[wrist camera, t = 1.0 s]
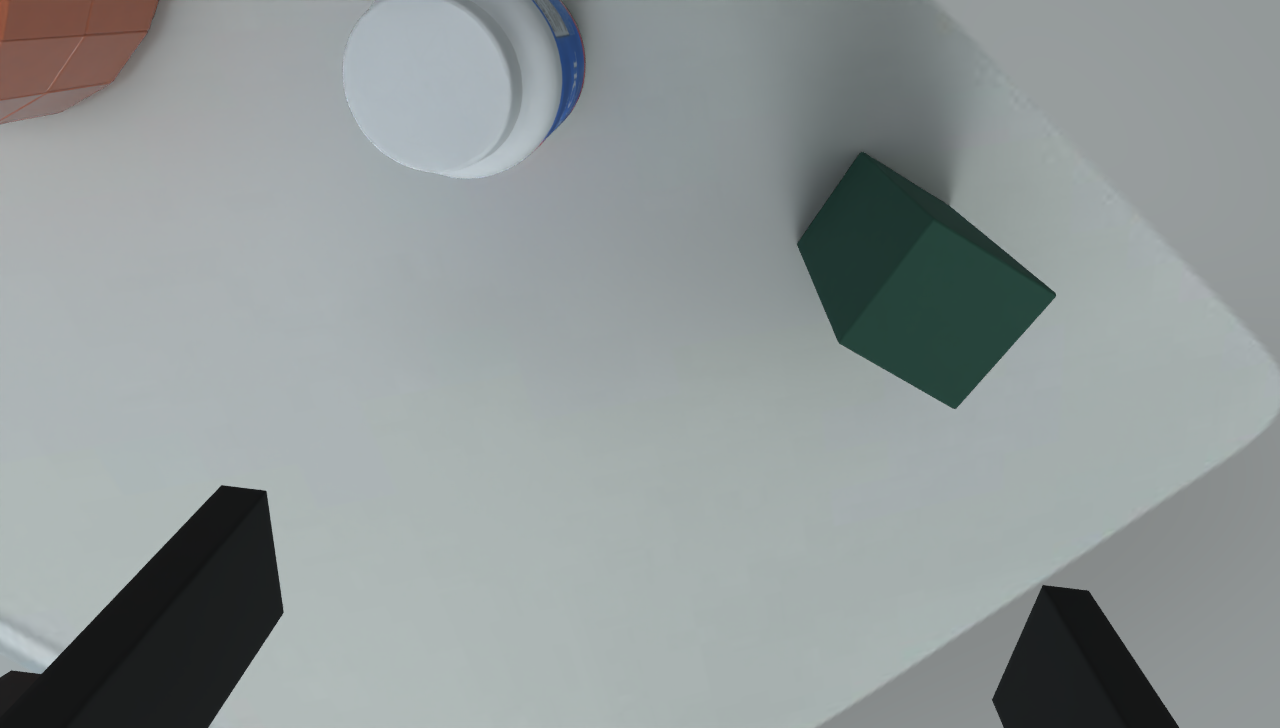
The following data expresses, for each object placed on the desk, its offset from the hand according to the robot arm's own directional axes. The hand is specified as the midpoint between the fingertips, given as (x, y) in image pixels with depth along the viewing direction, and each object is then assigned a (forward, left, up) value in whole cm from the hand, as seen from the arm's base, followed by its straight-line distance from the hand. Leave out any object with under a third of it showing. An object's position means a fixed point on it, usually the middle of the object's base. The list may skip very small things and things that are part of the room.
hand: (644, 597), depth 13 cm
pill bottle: (-4, -9, -18) cm, 20 cm away
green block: (-5, +6, -18) cm, 19 cm away
